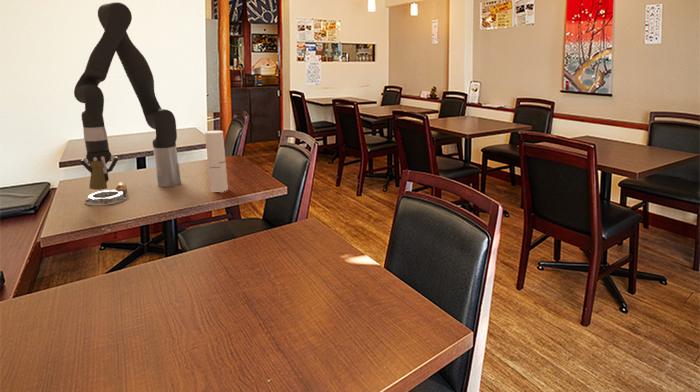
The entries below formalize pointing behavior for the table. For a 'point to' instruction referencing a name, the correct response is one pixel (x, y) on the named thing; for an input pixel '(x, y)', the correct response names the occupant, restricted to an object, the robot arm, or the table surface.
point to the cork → (97, 176)
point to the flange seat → (106, 198)
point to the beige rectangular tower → (216, 161)
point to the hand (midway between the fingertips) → (103, 182)
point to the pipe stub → (121, 187)
